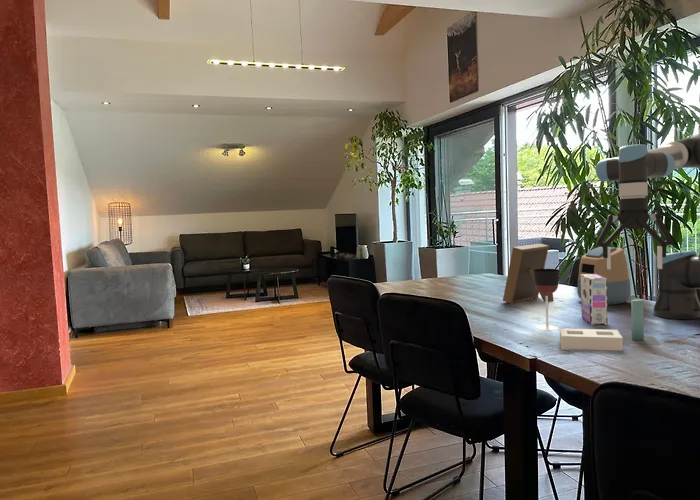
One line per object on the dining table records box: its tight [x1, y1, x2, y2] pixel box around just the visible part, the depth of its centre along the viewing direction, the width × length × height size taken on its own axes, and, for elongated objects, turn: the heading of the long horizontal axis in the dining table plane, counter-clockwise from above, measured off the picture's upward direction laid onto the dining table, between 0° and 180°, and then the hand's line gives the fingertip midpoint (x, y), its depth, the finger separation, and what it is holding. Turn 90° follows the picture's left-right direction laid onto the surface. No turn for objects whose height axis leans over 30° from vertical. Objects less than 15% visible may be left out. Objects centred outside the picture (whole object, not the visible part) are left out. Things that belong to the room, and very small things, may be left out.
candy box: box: [580, 274, 609, 326], centre depth 186 cm, size 14×6×16 cm, turn 168°
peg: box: [630, 299, 645, 341], centre depth 157 cm, size 3×3×12 cm
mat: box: [621, 335, 661, 346], centre depth 157 cm, size 10×10×1 cm
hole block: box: [559, 328, 624, 351], centre depth 154 cm, size 16×10×4 cm, turn 71°
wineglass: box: [533, 268, 560, 331], centre depth 180 cm, size 8×9×20 cm
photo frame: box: [502, 243, 554, 305], centre depth 231 cm, size 15×22×25 cm
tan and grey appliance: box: [576, 246, 632, 306], centre depth 221 cm, size 17×17×23 cm
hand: (633, 268), depth 156 cm, fingers open, 13 cm apart
